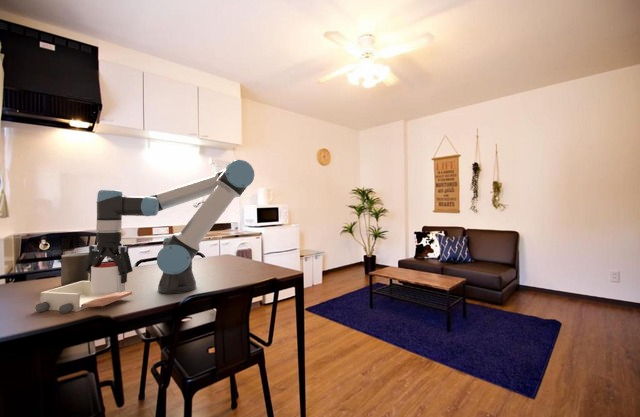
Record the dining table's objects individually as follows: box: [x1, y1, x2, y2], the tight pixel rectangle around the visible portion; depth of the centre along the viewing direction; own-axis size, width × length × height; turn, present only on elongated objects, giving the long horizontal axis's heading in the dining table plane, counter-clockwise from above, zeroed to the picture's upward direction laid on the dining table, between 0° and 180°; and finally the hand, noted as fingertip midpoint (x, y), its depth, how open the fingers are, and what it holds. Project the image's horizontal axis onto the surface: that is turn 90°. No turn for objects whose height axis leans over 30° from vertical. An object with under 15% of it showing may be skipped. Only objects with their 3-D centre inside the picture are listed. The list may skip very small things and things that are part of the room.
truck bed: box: [35, 280, 108, 315], centre depth 107 cm, size 14×21×6 cm, turn 175°
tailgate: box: [81, 291, 133, 308], centre depth 106 cm, size 1×13×8 cm
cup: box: [91, 261, 120, 295], centre depth 106 cm, size 10×10×10 cm
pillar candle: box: [60, 251, 90, 287], centre depth 131 cm, size 10×10×15 cm
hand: (108, 291), depth 106 cm, fingers closed on cup, 10 cm apart
